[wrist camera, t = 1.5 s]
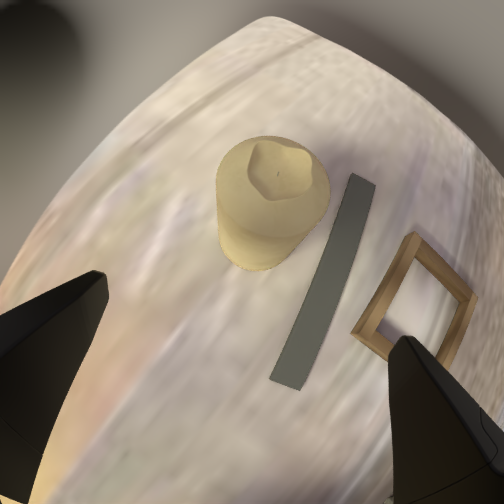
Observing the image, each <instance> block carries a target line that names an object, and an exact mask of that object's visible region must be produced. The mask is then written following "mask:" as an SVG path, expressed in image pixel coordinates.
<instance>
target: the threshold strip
mask: <svg viewBox="0 0 504 504" xmlns="http://www.w3.org/2000/svg"><path fill="white" fill-rule="evenodd" d="M375 187H376V185H374V184H372V183H370V182H368V181H367V180H365V179H363V178H361V177H359V176H358V175H356V174H354V173H352V174H351V176H350V179H349V182H348V185H347V188H346V191H345V194H344V197H343V200H342V203H341V206H340V208H339V211H338V214H337V217H336V220H335V223H334V225H333V228H332V231H331V233H330V236H329V239H328V242H327V244H326V247H325V250H324V252H323V255H322V257H321V260H320V262H319V265H318V268H317V270H316V273H315V275H314V278H313V280H312V283H311V285H310V288H309V290H308V292H307V295H306V297H305V300H304V302H303V304H302V307H301V309H300V311H299V314H298V316H297V318H296V321H295V323H294V325H293V328H292V330H291V332H290V334H289V337H288V339H287V341H286V343H285V346H284V348H283V350H282V352H281V354H280V356H279V359H278V361H277V363H276V365H275V367H274V369H273V371H272V374H271V376H270V378H269V379H270V380H272V381H275V382H277V383H280V384H282V385H285V386H288V387H290V388H293V389H296V390H299V391H300V390H301V388H302V386H303V384H304V382H305V380H306V377H307V375H308V373H309V371H310V369H311V367H312V364H313V362H314V360H315V358H316V355H317V353H318V351H319V349H320V346H321V344H322V342H323V339H324V337H325V334H326V332H327V330H328V327H329V325H330V322H331V320H332V317H333V315H334V312H335V310H336V307H337V304H338V302H339V299H340V296H341V294H342V291H343V288H344V286H345V283H346V280H347V277H348V274H349V272H350V269H351V266H352V263H353V260H354V257H355V254H356V251H357V248H358V245H359V242H360V239H361V235H362V232H363V229H364V226H365V222H366V219H367V215H368V212H369V209H370V205H371V201H372V198H373V194H374V190H375Z"/></svg>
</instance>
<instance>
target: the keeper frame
mask: <svg viewBox="0 0 504 504" xmlns="http://www.w3.org/2000/svg"><path fill="white" fill-rule="evenodd" d="M414 257H415V258H416V259H417V260H418V261H419V262H420V263H421V264H422V265H423V266H425V267H426V268H427V269H428V270H429V271H430V272H431V273H432V274H433V275H434V276H435V277H436V278H437V279H438V280H439V281H440V282H441V283H442V284H443V285H444V286H445V287H446V288H447V289H448V290H449V291H450V293H451V294H452V295H453V296H454V297H455V298H456V299H457V300H458V301H459V302H460V303H459V306H458V309H457V311H456V314H455V316H454V318H453V321H452V323H451V325H450V328H449V330H448V332H447V334H446V337H445V339H444V341H443V343H442V345H441V347H440V349H439V351H438V353H437V355H436V357H435V358H436V359H437V360H438V362H439V363H440V364H441V365H442V366H443V367H444V368H445V369H446V370H447V371H448V369H449V367H450V365H451V363H452V361H453V359H454V357H455V355H456V353H457V350H458V348H459V346H460V344H461V341H462V339H463V337H464V334H465V332H466V329H467V327H468V324H469V322H470V319H471V317H472V314H473V311H474V308H475V306H476V303H477V300H478V297H477V296H476V295H475V293H474V292H473V291H472V290H471V289H470V288H469V287H468V285H467V284H466V283H465V282H464V281H463V280H462V279H461V278H460V276H459V275H458V274H457V273H456V272H455V271H454V270H453V269H452V268H451V267H450V266H449V265H448V264H447V263H446V262H445V261H444V260H443V258H442V257H441V256H440V255H439V254H438V253H437V252H436V251H435V250H434V249H433V248H432V247H431V246H430V245H429V244H428V243H427V242H425V241H424V240H423V239H422V238H421V237H420V236H419V235H418V234H417V233H416V232H415V231H414V232H412V233H410V234H409V235H407V236H405V238H404V240H403V242H402V244H401V246H400V248H399V250H398V252H397V254H396V256H395V258H394V260H393V262H392V263H391V265H390V267H389V269H388V271H387V273H386V275H385V276H384V278H383V280H382V282H381V284H380V285H379V287H378V289H377V291H376V292H375V294H374V296H373V298H372V299H371V301H370V303H369V304H368V306H367V308H366V309H365V311H364V313H363V314H362V316H361V317H360V319H359V321H358V322H357V324H356V325H355V327H354V329H353V330H352V332H351V333H350V334H351V335H353V336H354V337H355V338H357V339H358V340H359V341H361V342H362V343H363V344H365V345H366V346H367V347H368V348H370V349H371V350H372V351H374V352H375V353H376V354H378V355H379V356H380V357H382V358H383V359H384V360H385V361H387V362H388V355H389V352H390V351H391V349H392V348H393V347H394V344H392V343H391V342H390V341H389V340H387V339H386V338H385V337H384V336H382V335H381V334H380V333H379V332H377V331H376V328H377V326H378V325H379V323H380V321H381V320H382V318H383V316H384V314H385V313H386V311H387V309H388V307H389V305H390V304H391V302H392V300H393V298H394V296H395V294H396V292H397V291H398V289H399V287H400V285H401V283H402V281H403V279H404V277H405V275H406V273H407V271H408V269H409V267H410V265H411V263H412V261H413V258H414Z"/></svg>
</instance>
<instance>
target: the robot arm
mask: <svg viewBox="0 0 504 504" xmlns="http://www.w3.org/2000/svg"><path fill="white" fill-rule="evenodd" d="M108 300H109V291H108V283H107V276H106V274H105V273H103V272H100V271H96V270H92V271H90V272H87V273H85V274H83V275H81V276H79V277H77V278H74V279H72V280H70V281H68V282H66V283H64V284H62V285H60V286H58V287H56V288H53V289H51V290H49V291H47V292H45V293H43V294H41V295H39V296H37V297H35V298H33V299H31V300H29V301H27V302H25V303H23V304H21V305H19V306H17V307H15V308H13V309H11V310H9V311H8V312H6V313H4V314H2V315H0V495H2V496H5V497H7V498H9V499H12V500H14V501H17V502H20V503H22V504H28V502H29V499H30V495H31V491H32V488H33V484H34V481H35V478H36V475H37V471H38V468H39V465H40V462H41V459H42V457H43V455H42V454H43V453H44V450H45V448H46V445H47V442H48V439H49V437H50V434H51V432H52V429H53V427H54V424H55V422H56V419H57V417H58V414H59V412H60V409H61V407H62V405H63V402H64V400H65V398H66V396H67V393H68V391H69V389H70V387H71V385H72V382H73V380H74V378H75V376H76V374H77V372H78V370H79V368H80V366H81V363H82V361H83V359H84V357H85V355H86V353H87V351H88V349H89V347H90V345H91V343H92V341H93V338H94V336H95V333H96V330H97V328H98V325H99V323H100V320H101V318H102V315H103V313H104V311H105V308H106V306H107V303H108ZM388 379H389V407H390V417H391V430H392V446H393V504H504V432H503V431H502V430H501V429H500V428H499V427H498V426H497V425H496V424H495V422H494V421H493V420H492V419H491V418H490V417H489V416H488V415H487V414H486V412H485V411H484V410H483V409H482V408H481V407H480V406H479V405H478V403H477V402H476V401H475V400H474V399H473V398H472V397H471V396H470V395H469V393H468V392H467V391H466V390H465V389H464V388H463V387H462V386H461V385H460V384H459V383H458V382H457V380H456V379H455V378H454V377H453V376H452V375H451V374H450V373H449V372H448V371H447V370H446V369H445V368H444V367H443V366H442V365H441V364H440V363H439V362H438V360H437V359H436V358H435V357H434V356H433V355H432V354H431V353H430V352H429V351H428V350H427V349H426V348H425V347H424V346H423V345H422V344H421V343H420V342H419V341H418V340H417V339H416V338H415V337H413V336H407V335H403V336H402V337H400V338H399V340H398V341H397V343H396V344H395V345H394V347H393V348H392V349H391V351H390V352H389V355H388ZM0 504H2V503H1V501H0Z"/></svg>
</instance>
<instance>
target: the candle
mask: <svg viewBox="0 0 504 504" xmlns="http://www.w3.org/2000/svg"><path fill="white" fill-rule="evenodd" d="M216 198H217V216H218V233H219V241H220V245H221V248H222V250H223V252H224V253H225V255H226V256H227V257H228V258H229V259H230V260H231V261H232V262H233V263H234V264H236V265H237V266H239V267H241V268H243V269H246V270H251V271H263V270H268V269H271V268H273V267H275V266H277V265H278V264H280V263H281V262H282V261H283V260H284V259H285V258H286V257H287V256H288V255H289V254H290V253H291V252H292V251H293V250H294V249H295V248H296V246H297V245H298V244H299V243H300V242H301V241H302V240H303V239H304V238H305V237H306V236H307V235H308V233H309V232H310V231H311V230H312V229H313V228H314V227H315V226H316V225H317V223H318V222H319V221H320V220H321V219H322V217H323V216H324V214H325V212H326V210H327V208H328V205H329V201H330V183H329V179H328V176H327V173H326V171H325V169H324V167H323V165H322V164H321V162H320V161H319V160H318V159H317V157H316V156H315V155H314V154H313V153H312V152H311V151H309V150H308V149H307V148H305V147H304V146H302V145H300V144H299V143H296V142H294V141H292V140H289V139H286V138H282V137H276V136H260V137H255V138H251V139H248V140H245V141H243V142H241V143H239V144H238V145H236V146H235V147H233V148H232V149H231V150H230V151H229V152H228V153H227V154H226V155H225V156H224V158H223V160H222V161H221V163H220V165H219V167H218V171H217V175H216Z"/></svg>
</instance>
